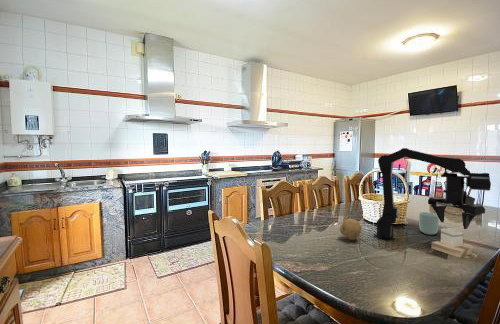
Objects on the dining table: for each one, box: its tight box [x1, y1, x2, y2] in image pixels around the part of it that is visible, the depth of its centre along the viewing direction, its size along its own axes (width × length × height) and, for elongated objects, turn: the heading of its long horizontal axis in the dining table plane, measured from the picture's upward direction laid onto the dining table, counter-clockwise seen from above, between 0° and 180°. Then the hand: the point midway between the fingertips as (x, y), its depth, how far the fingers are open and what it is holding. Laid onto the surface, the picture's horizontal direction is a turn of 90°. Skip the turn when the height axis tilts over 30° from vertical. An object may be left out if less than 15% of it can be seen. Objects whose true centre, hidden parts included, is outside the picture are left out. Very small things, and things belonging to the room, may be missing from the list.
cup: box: [418, 211, 440, 236], centre depth 121 cm, size 8×8×10 cm
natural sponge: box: [339, 218, 362, 241], centre depth 112 cm, size 9×9×10 cm
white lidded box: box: [440, 227, 464, 247], centre depth 101 cm, size 5×5×6 cm
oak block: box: [431, 239, 474, 258], centre depth 101 cm, size 10×10×3 cm
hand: (453, 225), depth 100 cm, fingers open, 9 cm apart
